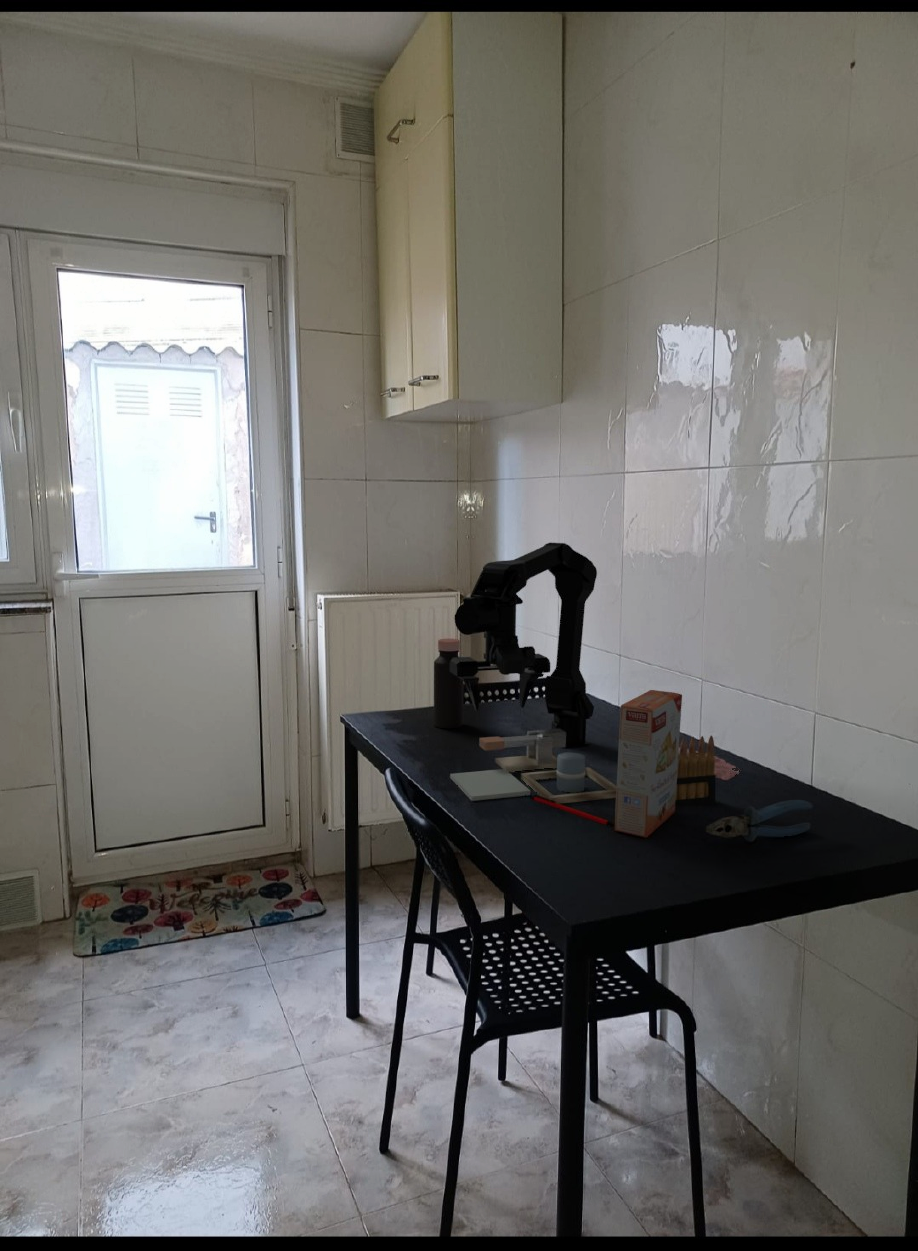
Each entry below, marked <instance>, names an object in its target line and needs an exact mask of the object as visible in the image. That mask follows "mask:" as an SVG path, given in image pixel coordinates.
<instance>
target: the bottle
mask: <svg viewBox="0 0 918 1251" xmlns="http://www.w3.org/2000/svg"><path fill="white" fill-rule="evenodd" d="M460 643H461V642H460V639H457V638H439V639H438V640H437V650H438V653H439V655H438V656H437V657H436V659H434V662H433V725H434V726H435V727H437V728H439V729H444V728H445V729H449V730H450V729H451V730H452V728H453V729H458V728H461V727H462V726H463V725H464V681H463V680H462V679H460V678H459V677H457V676H455V675H454V674H453V673H451V672H450V661H451V660H452V658H455V657H460V656H459V652H460V649H461V648H460V647H461V646H460V645H461V644H460Z"/></svg>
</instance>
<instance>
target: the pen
mask: <svg viewBox="0 0 918 1251" xmlns="http://www.w3.org/2000/svg"><path fill="white" fill-rule="evenodd" d="M527 796H528V798H529V797H530V798H529V799H532V800H533V801H536V802H538V803H541V802H542V804H544V803H545V804H544V805H547V806H551V807H552V808H556V809H558V808H559V810H561V811H564V812H568V813H569V814H573V815H576V816H579V817H582V818H584V819H589V820H590V821H594V822H596V823H599V824H603V825H605V826H608V825H610V826H609V827H612V826H614V827H613V828H615V823H613V822H611V821H609V820H607V819H603V818H601V817H598V816H595V815H592V814H589V813H587V812H583V811H581V810H577V809H575V808H572V807H569V806H567V805H563V804H562V803H561V804H558V803H555V802H556V801H553V800H549V799H547V798H544V797H541V796H540V795H538V794H534V795H533V796H532V795H531V794H530V795H527ZM550 801H551V802H550Z"/></svg>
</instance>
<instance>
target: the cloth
mask: <svg viewBox="0 0 918 1251" xmlns="http://www.w3.org/2000/svg"><path fill="white" fill-rule="evenodd" d="M688 754H689V748H687V760H688ZM679 755H680V746H679V753H678V760H679ZM697 755H698V750H696V759H697ZM706 755H707V752H705V759H706ZM714 757H715V770H714V775H716V779H721V780H724V781H729V780H731V779H733V778H734V777H736V776H737V775H739V774H740V772H739V770H740V769H739V770H738V771H734V770H735V769H734V770H732V768H736V767H737V766H735V765H732V764H731V763H730V762H727V761H726V760H724V759H723V758H720V757H719V756H715V755H714ZM726 762H727V763H726ZM736 774H737V775H736ZM735 775H736V776H735Z"/></svg>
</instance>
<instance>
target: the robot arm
mask: <svg viewBox="0 0 918 1251" xmlns="http://www.w3.org/2000/svg"><path fill="white" fill-rule="evenodd" d="M546 571H549V573H551V575H552V576H553V577H554V584H555V585H554V589H555V590H556V593H557V594H558V596H559V598H560V602H561V603H560V604H561V606H560V616H559V626H558V627H559V628H558V639H557V640H558V641H557V650H556V651H557V653H556V664H555V668H554V669H553V671H552V673H551V674H550V675H547V676H545V680H544V683H545V685H544V691H543V696H544V701H545V705H546V710H547V713H548V715H553V721H551V729H562V730H563V731H565V732H566V747H565V748H570V747H581V746H589V745H590V742H588V741H587V740H586V739H587V738H586V736H587V720H590V719H591V717H593V715H594V710H595V706H594V704H593V703H592V701H591V700H590V698H589V697H588V695H587V687H586V686H587V685H586V684H587V683H586V680H585V679H584V677H583V674H582V672H581V668H580V666H581V657H582V656H581V655H582V654H581V653H582V643H583V632H584V631H583V630H584V618H585V617H584V616H585V607H586V601H587V600H588V599H589V598H590V596H591V595H592V593H593V592H594V589H595V585H596V584H595V583H596V581H597V580H596V579H597V576H598V570H597V567H596V566H595V565H594V563H593V561H591V560H590V559H589V558H588V557H586V556H585V555H583V554H582V553H580V552H578V551H576V550H574V549H573V548H572V547H571V546H570V544H567V543H566V542H548V543H545V544H544V545H543V546H541V547H540V548H539V547H538V548H537V549H534V550H532V551H530V552H527V553H526V554H524V555H521V556H519V557H517V558H515V559H511V560H497V561H491V562H490V561H489V562H487V563H486V564H485V565H483V567H482V570H481V572H480V574H479V577H478V578H477V581H476V582H475V585H474V586H473V588H472V591H471V594H470V596H467V597H465V596H464V597H463V599H462V600H463V601H462V604H461V605H460V606H458V607H457V609H456V611H455V614H454V617H453V618H454V623H455V624H454V625H455V626H456V628H457V630H458V632H460V633H461V634H463V635H464V636H470V635H476V634H482V633H483V638H484V639H485V645H484V646H485V653H483V660H476V659H474V658H472V657H471V656H459V657H455V658H452V660H451V661H450V672H451V673H453V674H454V675H455V676H457V677H459V678H460V679H462V680H463V684H464V685H465V687H466V689H467V692H468V694H469V697H470V700H471V702H472V705H473V708H474V710H475V711H476V712H479V711H480V710H479V708H480V707H479V706H480V698H479V686H478V685H479V681H480V677H478V676H477V674H478V673H479V672H480V671H481V672H483V671H485V672H486V671H499V674H501V675H503V676H508V675H510V674H511V675H512V674H513V675H515V674H517V675H519V685H518V688H519V690H518V696H519V697H518V700H519V707H520V708H521V709H524V707H525V706H526V702H527V700H528V698H529V695H530V692H531V689H532V687H533V685H534V683H535V682H536V681H537V680H538V679H539V678H543V676H544V674H545V673H546V674H547V673H550V672H551V661H550V659H549V658H548V657H547V656H544V655H543V654H540V653H536V649H535V647H534V646H533V645H532V646H529V645H528V646H522V647H520V645H519V638H518V637H519V636H518V635H516V634H517V632H516V630H517V626H516V625H517V621H516V620H517V606H518V605H522V604H523V603H524V600H523V599H522V598H521V597H520V596H519V594H518V593H519V592H520V591H522V590H523V589H524V588H525V587H526V586H527V583H528V580H530V579H532V578H534V577H535V576H538V575H540V574H541V573H543V572H546Z"/></svg>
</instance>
